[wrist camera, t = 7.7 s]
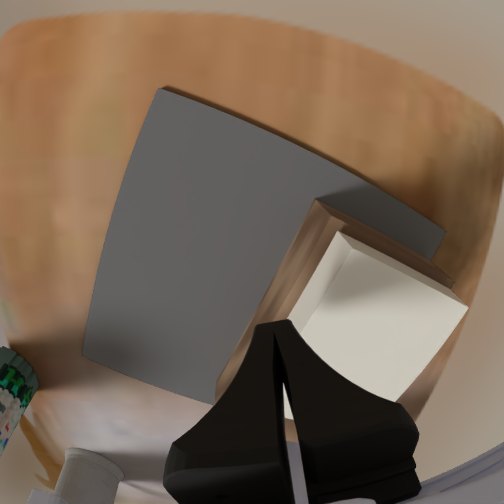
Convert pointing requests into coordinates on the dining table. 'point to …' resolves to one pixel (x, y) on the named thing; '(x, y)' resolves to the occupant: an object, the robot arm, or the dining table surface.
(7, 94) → the dining table surface
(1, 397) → the can
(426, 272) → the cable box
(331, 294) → the lid
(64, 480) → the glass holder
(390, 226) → the desk mat
